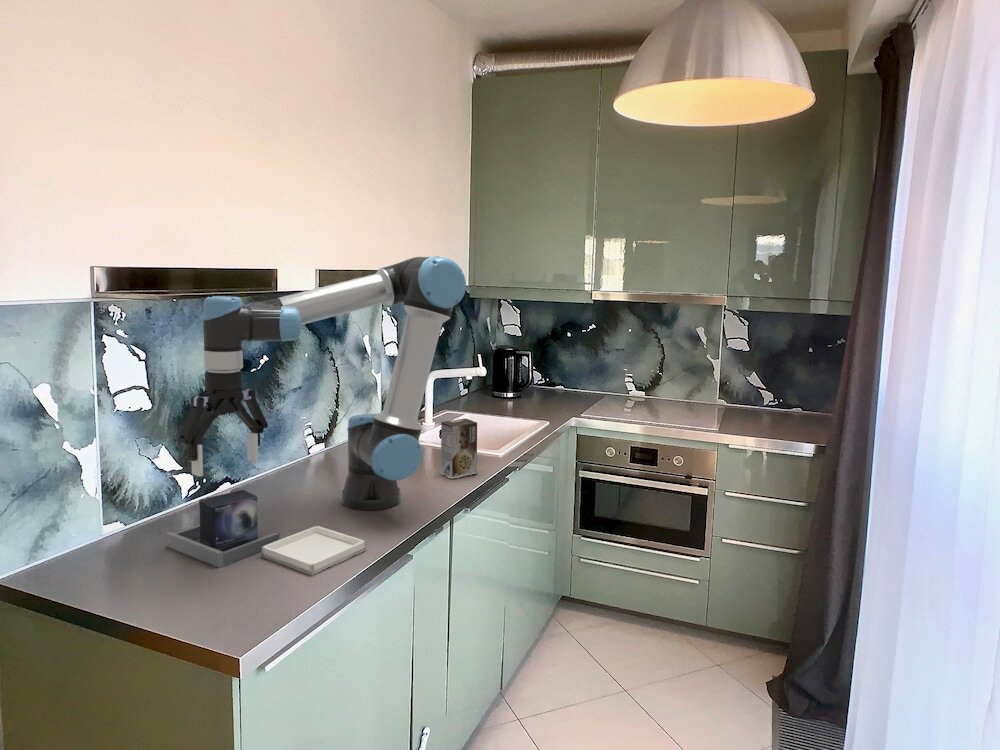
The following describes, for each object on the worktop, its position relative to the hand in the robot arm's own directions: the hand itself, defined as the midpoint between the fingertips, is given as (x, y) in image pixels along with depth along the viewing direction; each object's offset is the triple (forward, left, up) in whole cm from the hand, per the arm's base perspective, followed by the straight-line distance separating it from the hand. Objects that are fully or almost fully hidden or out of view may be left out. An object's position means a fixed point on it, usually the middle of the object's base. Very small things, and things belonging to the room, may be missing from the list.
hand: (226, 468), depth 150 cm
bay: (+1, 0, -17) cm, 17 cm away
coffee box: (-72, +9, -17) cm, 75 cm away
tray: (-7, +19, -17) cm, 27 cm away
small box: (0, 0, -17) cm, 17 cm away
